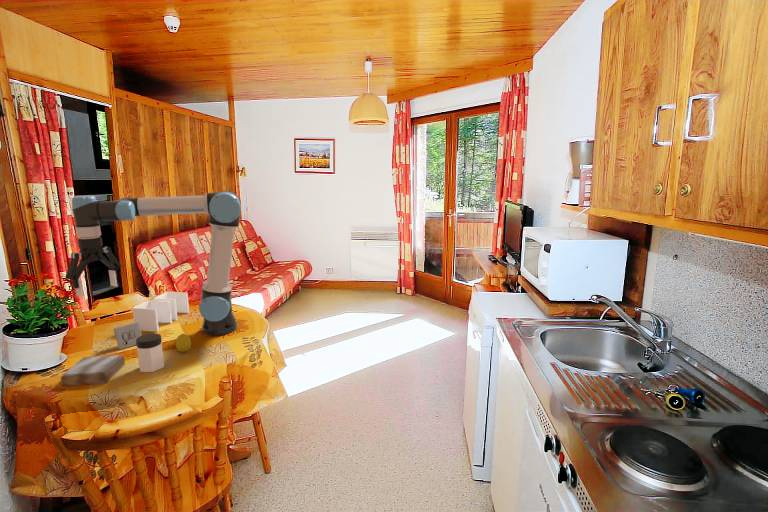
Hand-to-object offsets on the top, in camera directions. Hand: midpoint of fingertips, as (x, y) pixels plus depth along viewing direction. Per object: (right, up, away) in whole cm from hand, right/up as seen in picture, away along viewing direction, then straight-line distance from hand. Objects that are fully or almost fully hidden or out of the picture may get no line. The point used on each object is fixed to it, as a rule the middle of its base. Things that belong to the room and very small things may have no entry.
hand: (97, 290), depth 159 cm
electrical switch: (+4, -24, +13) cm, 28 cm away
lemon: (+30, -26, +7) cm, 40 cm away
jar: (+24, -29, -5) cm, 38 cm away
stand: (+7, -29, -11) cm, 32 cm away
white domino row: (+4, -18, +40) cm, 44 cm away
